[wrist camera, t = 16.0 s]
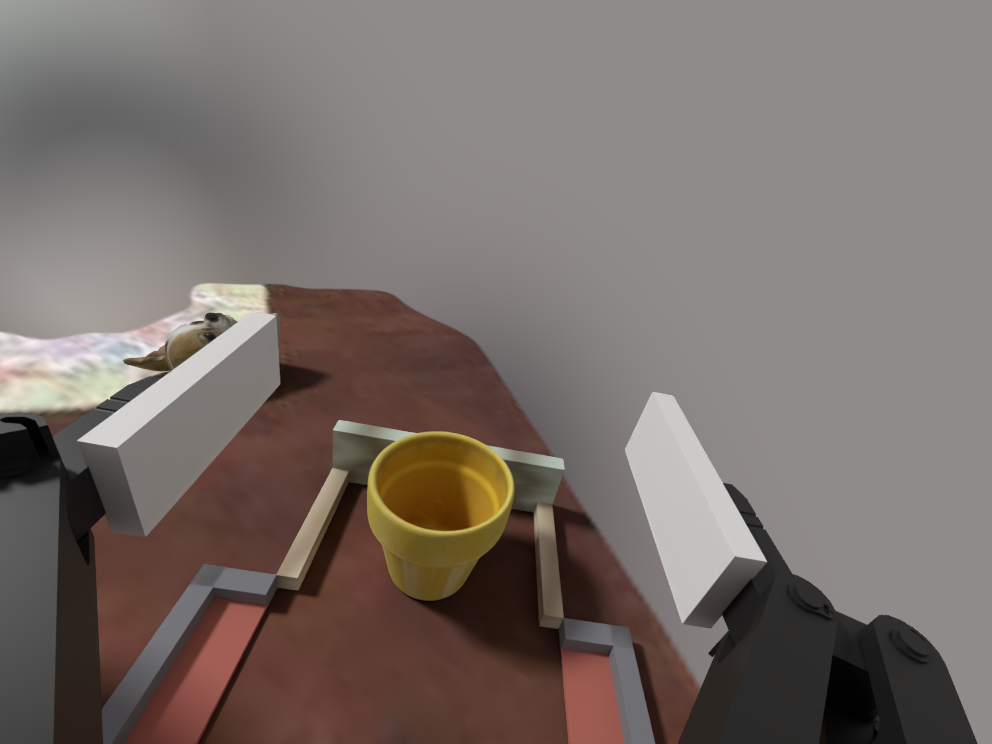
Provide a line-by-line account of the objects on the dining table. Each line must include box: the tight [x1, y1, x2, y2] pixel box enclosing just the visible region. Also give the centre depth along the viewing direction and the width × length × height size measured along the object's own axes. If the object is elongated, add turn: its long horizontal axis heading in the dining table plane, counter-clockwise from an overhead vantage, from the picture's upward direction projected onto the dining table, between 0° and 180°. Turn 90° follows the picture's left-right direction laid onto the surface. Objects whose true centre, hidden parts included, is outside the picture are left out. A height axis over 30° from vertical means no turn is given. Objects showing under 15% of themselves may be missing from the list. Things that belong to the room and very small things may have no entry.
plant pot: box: [367, 432, 515, 601], centre depth 33 cm, size 10×10×10 cm
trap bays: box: [102, 564, 655, 744], centre depth 26 cm, size 31×12×2 cm, turn 88°
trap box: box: [276, 420, 565, 629], centre depth 27 cm, size 21×32×6 cm, turn 178°
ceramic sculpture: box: [123, 313, 280, 371], centre depth 48 cm, size 11×9×15 cm
